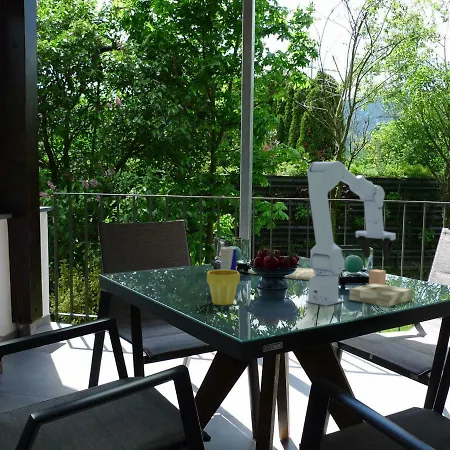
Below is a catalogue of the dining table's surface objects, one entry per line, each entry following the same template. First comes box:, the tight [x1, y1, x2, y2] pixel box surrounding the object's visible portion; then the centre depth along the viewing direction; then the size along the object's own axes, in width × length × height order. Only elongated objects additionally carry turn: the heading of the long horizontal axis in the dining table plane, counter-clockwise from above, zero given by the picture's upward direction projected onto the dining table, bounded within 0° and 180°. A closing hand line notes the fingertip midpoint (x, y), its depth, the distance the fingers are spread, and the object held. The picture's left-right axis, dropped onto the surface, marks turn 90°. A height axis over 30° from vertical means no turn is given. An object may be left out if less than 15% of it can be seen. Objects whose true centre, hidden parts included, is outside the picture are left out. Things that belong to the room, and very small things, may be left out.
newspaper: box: [249, 267, 316, 282], centre depth 230 cm, size 37×19×3 cm, turn 56°
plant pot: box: [206, 269, 241, 306], centre depth 175 cm, size 10×10×10 cm
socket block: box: [348, 283, 413, 308], centre depth 179 cm, size 14×14×4 cm
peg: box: [368, 269, 387, 285], centre depth 194 cm, size 4×4×7 cm
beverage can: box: [220, 246, 238, 271], centre depth 196 cm, size 6×6×15 cm
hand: (376, 258), depth 193 cm, fingers open, 7 cm apart
